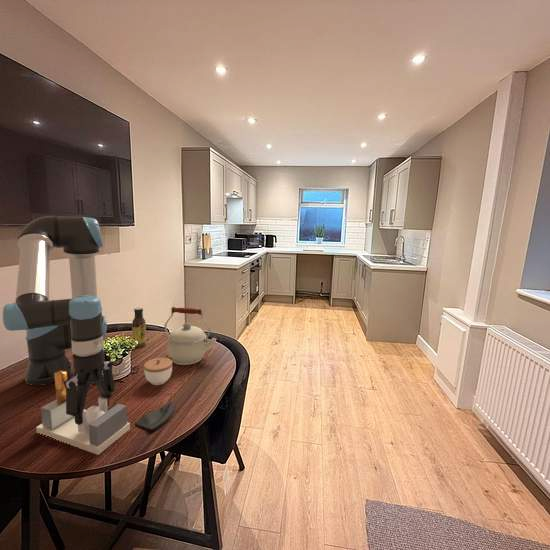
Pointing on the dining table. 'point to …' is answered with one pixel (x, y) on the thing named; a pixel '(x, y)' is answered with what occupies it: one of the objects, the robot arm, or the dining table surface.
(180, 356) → the kettle
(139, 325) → the sauce bottle
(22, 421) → the dining table surface
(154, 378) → the lidded jar
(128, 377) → the dining table surface
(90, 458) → the dining table surface
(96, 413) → the white steamed bun
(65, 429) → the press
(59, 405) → the ram
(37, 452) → the dining table surface
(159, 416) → the curved wedge
